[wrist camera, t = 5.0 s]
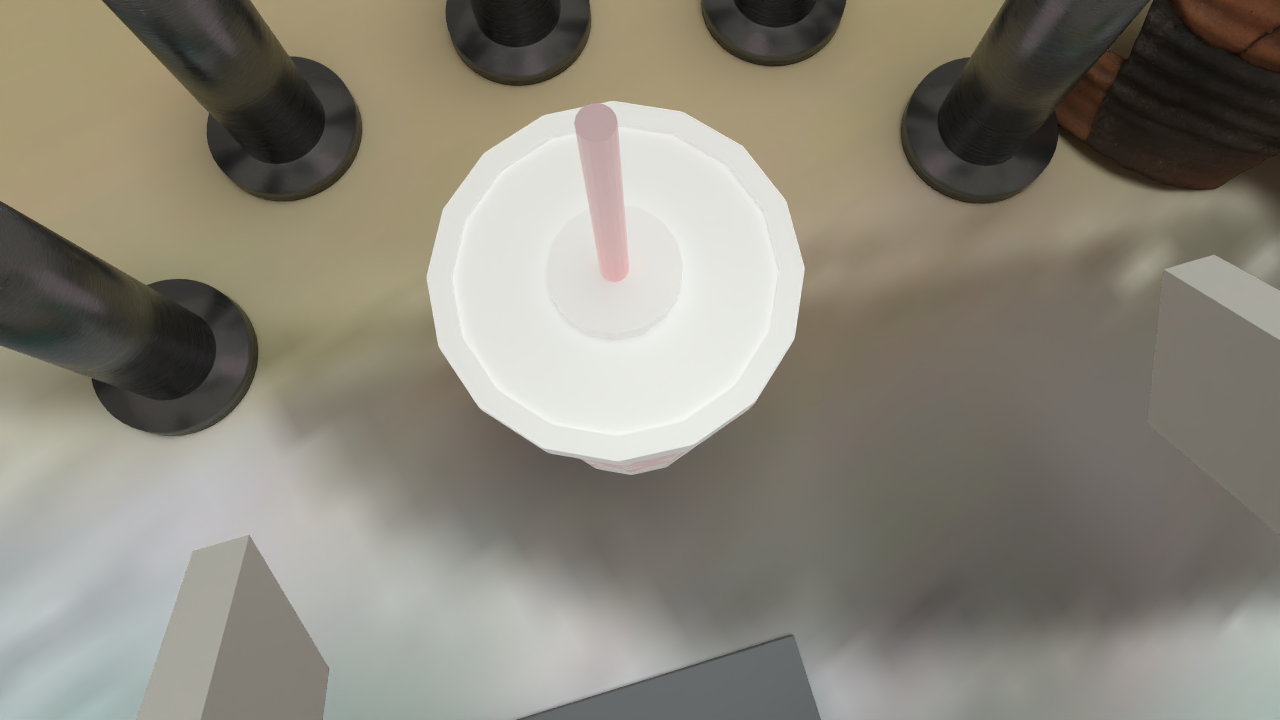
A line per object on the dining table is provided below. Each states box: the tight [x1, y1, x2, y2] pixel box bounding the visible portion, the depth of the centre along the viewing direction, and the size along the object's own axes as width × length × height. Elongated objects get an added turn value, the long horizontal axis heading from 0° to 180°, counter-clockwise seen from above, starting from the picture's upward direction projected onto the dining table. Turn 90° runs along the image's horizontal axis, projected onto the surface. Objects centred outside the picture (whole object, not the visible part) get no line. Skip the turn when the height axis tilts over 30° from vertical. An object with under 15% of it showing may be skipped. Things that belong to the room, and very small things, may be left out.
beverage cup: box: [427, 101, 805, 475], centre depth 17 cm, size 6×6×14 cm
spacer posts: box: [0, 0, 1150, 436], centre depth 21 cm, size 26×11×9 cm, turn 106°
